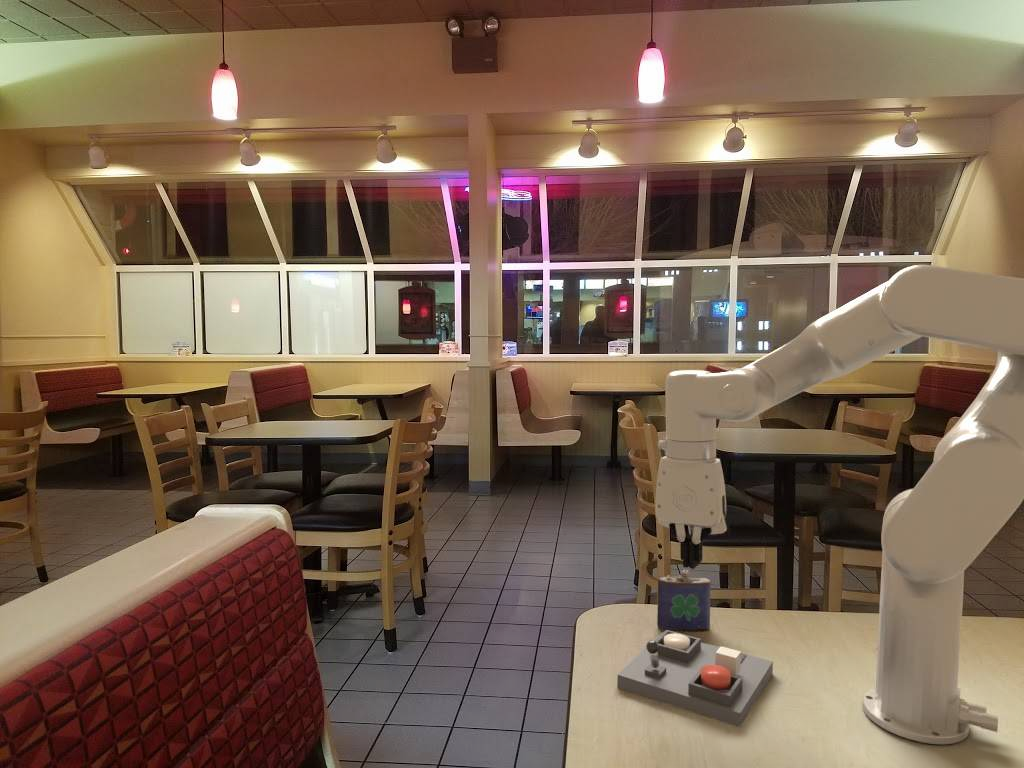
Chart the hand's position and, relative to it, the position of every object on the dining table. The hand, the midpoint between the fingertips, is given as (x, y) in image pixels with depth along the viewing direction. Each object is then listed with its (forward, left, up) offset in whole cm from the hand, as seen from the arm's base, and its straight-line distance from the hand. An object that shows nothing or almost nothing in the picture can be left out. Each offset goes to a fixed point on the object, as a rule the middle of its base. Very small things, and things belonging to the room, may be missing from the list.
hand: (691, 565), depth 109 cm
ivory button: (+2, +1, -14) cm, 14 cm away
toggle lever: (+2, +10, -13) cm, 16 cm away
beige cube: (-7, +4, -13) cm, 16 cm away
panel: (-3, +5, -16) cm, 17 cm away
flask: (+5, -11, -16) cm, 20 cm away
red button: (-7, +10, -13) cm, 17 cm away
